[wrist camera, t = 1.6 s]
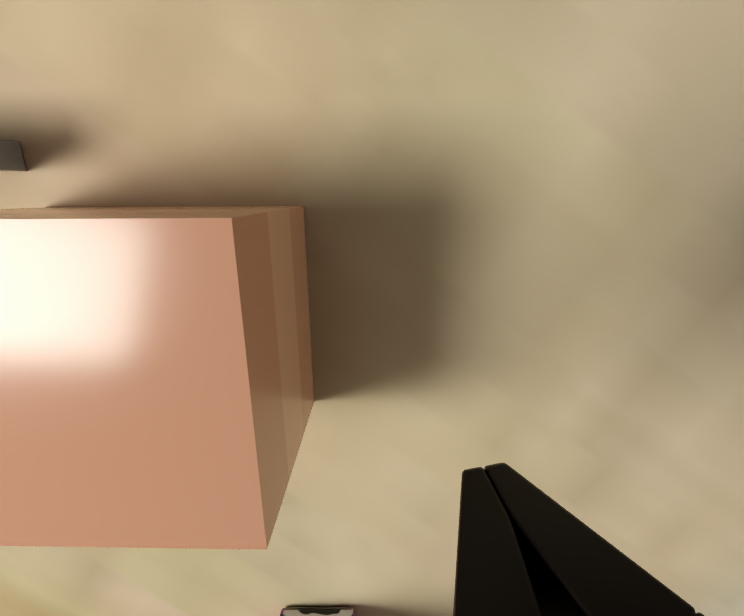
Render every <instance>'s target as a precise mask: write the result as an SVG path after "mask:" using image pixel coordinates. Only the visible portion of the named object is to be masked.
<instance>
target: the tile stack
mask: <svg viewBox="0 0 744 616" xmlns="http://www.w3.org/2000/svg"><path fill="white" fill-rule="evenodd" d="M313 403H314V389H313V371H312V353H311V334H310V316H309V298H308V280H307V261H306V243H305V225H304V207H303V206H225V207H45V208H21V209H0V546H67V547H138V548H209V549H267V547H268V544H269V541H270V538H271V535H272V532H273V529H274V525H275V522H276V519H277V516H278V513H279V510H280V507H281V503H282V500H283V497H284V494H285V491H286V488H287V485H288V482H289V478H290V475H291V472H292V469H293V466H294V463H295V460H296V456H297V453H298V450H299V447H300V444H301V441H302V438H303V435H304V431H305V428H306V425H307V422H308V419H309V416H310V413H311V409H312V406H313Z"/></svg>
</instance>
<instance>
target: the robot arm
mask: <svg viewBox="0 0 744 616" xmlns="http://www.w3.org/2000/svg"><path fill="white" fill-rule="evenodd" d="M453 616H704V615H703V614H702V613H695V609H694V608H693V607H692V606H691V605H689V604H688V603H687V602H686V601H684V600H683V599H682V598H680V597H679V596H678V595H676V594H675V593H674V592H673V591H671V590H670V589H669V588H667V587H666V586H665V585H663V584H662V583H661V582H660V581H658V580H657V579H656V578H654V577H653V576H652V575H650V574H649V573H648V572H647V571H645V570H644V569H643V568H641V567H640V566H639V565H637V564H636V563H635V562H633V561H632V560H631V559H630V558H628V557H627V556H626V555H624V554H623V553H622V552H620V551H619V550H618V549H617V548H615V547H614V546H613V545H611V544H610V543H609V542H607V541H606V540H605V539H604V538H602V537H601V536H600V535H598V534H597V533H596V532H594V531H593V530H592V529H591V528H589V527H588V526H587V525H585V524H584V523H583V522H581V521H580V520H579V519H577V518H576V517H575V516H574V515H572V514H571V513H570V512H568V511H567V510H566V509H564V508H563V507H562V506H561V505H559V504H558V503H557V502H555V501H554V500H553V499H551V498H550V497H549V496H548V495H546V494H545V493H544V492H542V491H541V490H540V489H538V488H537V487H536V486H535V485H533V484H532V483H531V482H529V481H528V480H527V479H525V478H524V477H523V476H521V475H520V474H519V473H518V472H516V471H515V470H514V469H512V468H511V467H510V466H508V465H507V464H505V463H498V464H493V465H488V466H486V467H485V468H484V469H483V468H481V467H477V468H472V469H467V470H464V471H463V472H462V482H461V498H460V514H459V530H458V546H457V562H456V579H455V595H454V611H453Z"/></svg>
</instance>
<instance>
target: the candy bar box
mask: <svg viewBox="0 0 744 616" xmlns="http://www.w3.org/2000/svg"><path fill="white" fill-rule="evenodd" d="M280 616H354V609H353V608H348V607H338V608H337V607H328V608H317V607H293V608H283V609H282V610H281V614H280Z"/></svg>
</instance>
